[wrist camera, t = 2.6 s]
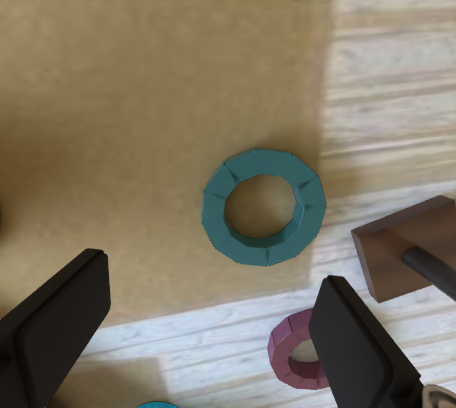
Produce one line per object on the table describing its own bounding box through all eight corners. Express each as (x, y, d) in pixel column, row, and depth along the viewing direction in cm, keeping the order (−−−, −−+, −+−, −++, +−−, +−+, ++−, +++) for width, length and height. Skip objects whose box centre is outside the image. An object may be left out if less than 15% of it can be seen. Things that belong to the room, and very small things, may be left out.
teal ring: (184, 177, 20) (180, 181, 18) (297, 128, 19) (305, 128, 17) (230, 268, 23) (230, 280, 22) (327, 232, 22) (337, 241, 20)
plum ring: (256, 326, 26) (258, 341, 24) (344, 297, 25) (354, 311, 23) (283, 381, 30) (287, 398, 28) (362, 358, 28) (372, 374, 26)
